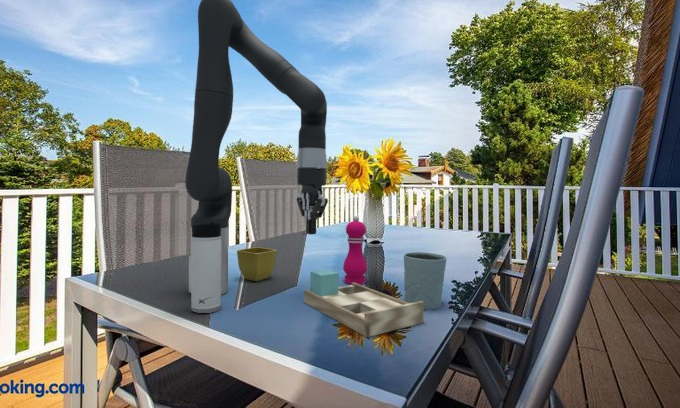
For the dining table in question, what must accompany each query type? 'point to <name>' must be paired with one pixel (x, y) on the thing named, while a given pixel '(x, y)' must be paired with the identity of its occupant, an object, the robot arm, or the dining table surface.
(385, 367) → the dining table surface
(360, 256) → the pepper mill
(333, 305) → the tray
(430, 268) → the grey green cup
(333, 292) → the teal block
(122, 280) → the dining table surface
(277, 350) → the dining table surface
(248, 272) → the flower pot
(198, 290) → the travel mug
